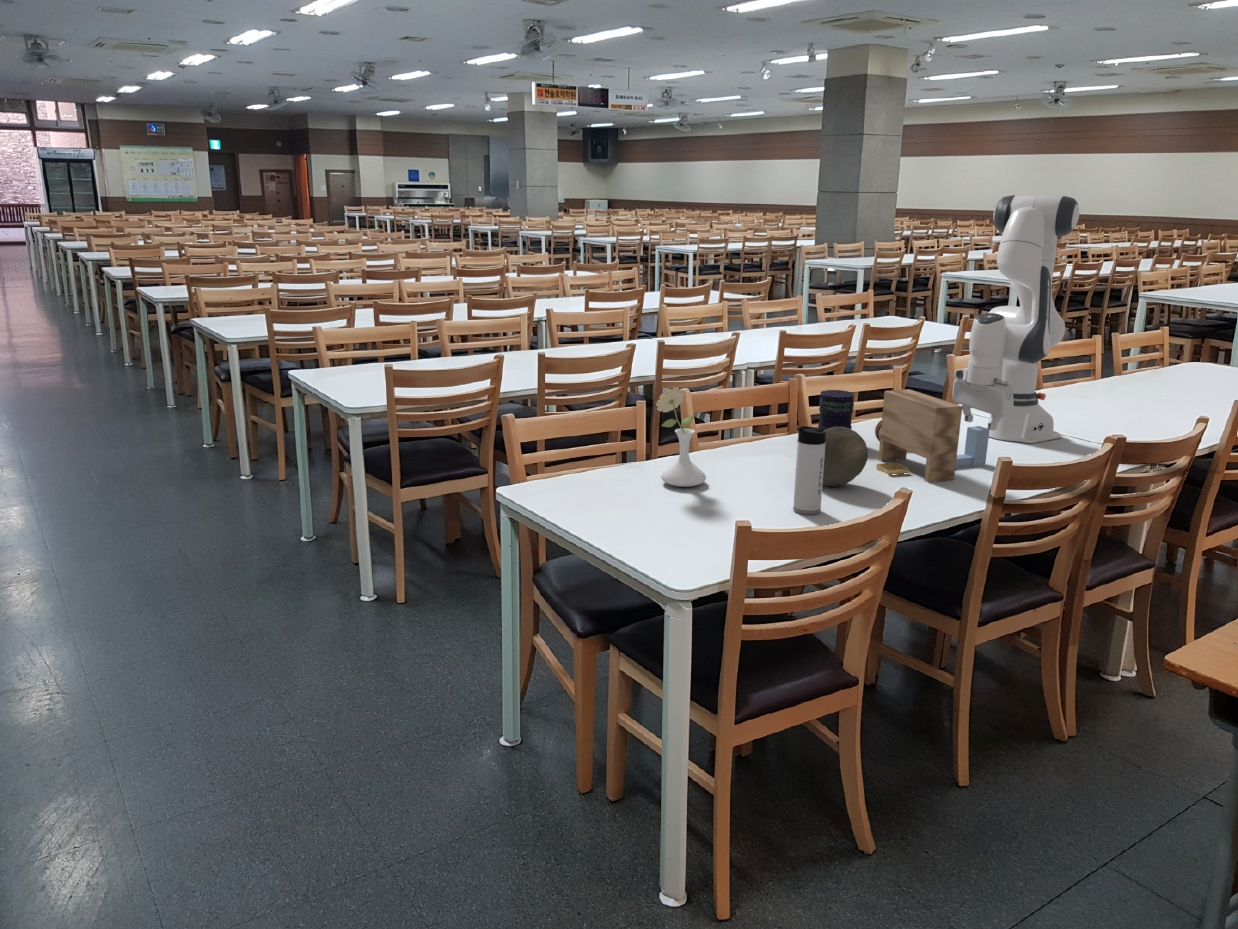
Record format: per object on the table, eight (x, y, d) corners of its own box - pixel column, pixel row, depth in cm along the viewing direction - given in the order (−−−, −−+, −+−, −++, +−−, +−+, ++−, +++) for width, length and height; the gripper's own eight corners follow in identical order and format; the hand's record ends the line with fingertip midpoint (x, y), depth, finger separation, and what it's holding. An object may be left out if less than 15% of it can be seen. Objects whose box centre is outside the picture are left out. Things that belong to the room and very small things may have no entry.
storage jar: (848, 448, 268) (853, 398, 264) (814, 445, 271) (818, 395, 267) (852, 440, 277) (856, 391, 273) (818, 437, 280) (822, 388, 276)
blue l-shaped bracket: (975, 461, 256) (979, 426, 254) (985, 465, 253) (989, 429, 250) (928, 465, 252) (932, 430, 249) (937, 469, 248) (941, 433, 245)
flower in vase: (698, 476, 241) (701, 381, 234) (711, 489, 230) (715, 390, 223) (649, 478, 238) (651, 383, 231) (660, 492, 227) (663, 392, 220)
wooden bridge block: (903, 457, 259) (910, 389, 254) (955, 479, 239) (963, 406, 234) (878, 460, 257) (884, 390, 251) (927, 482, 237) (935, 408, 231)
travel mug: (788, 506, 218) (793, 424, 212) (816, 506, 218) (821, 423, 212) (795, 515, 212) (801, 430, 206) (823, 515, 212) (830, 430, 206)
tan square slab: (895, 469, 249) (896, 462, 249) (908, 475, 244) (909, 468, 243) (876, 471, 248) (876, 464, 247) (888, 477, 242) (888, 470, 242)
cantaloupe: (818, 495, 226) (823, 435, 222) (799, 478, 239) (802, 422, 235) (873, 493, 228) (878, 434, 224) (850, 476, 241) (855, 420, 237)
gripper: (1022, 381, 239) (1017, 433, 243) (968, 367, 257) (965, 415, 261) (1002, 384, 237) (997, 436, 241) (949, 369, 255) (946, 418, 259)
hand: (980, 425), depth 251 cm, fingers open, 8 cm apart
